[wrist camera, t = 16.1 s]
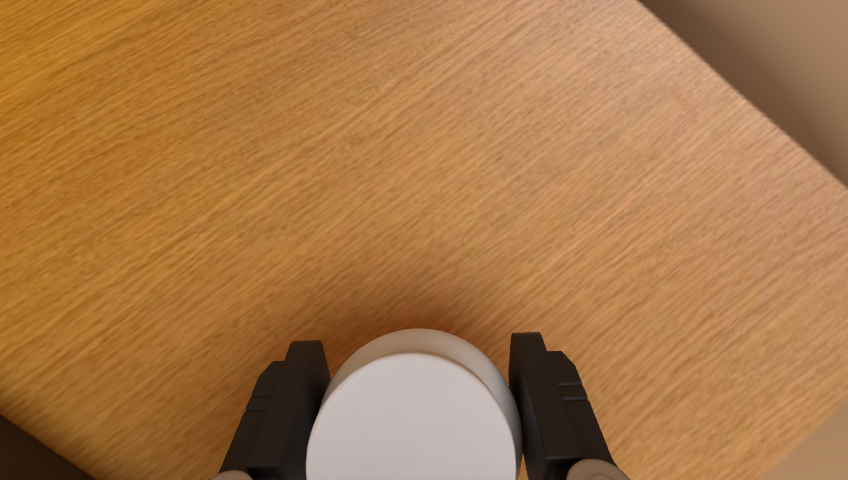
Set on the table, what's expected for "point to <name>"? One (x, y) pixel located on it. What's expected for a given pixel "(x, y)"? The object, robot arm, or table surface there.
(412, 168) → the table surface
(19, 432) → the button base
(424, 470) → the pill bottle
